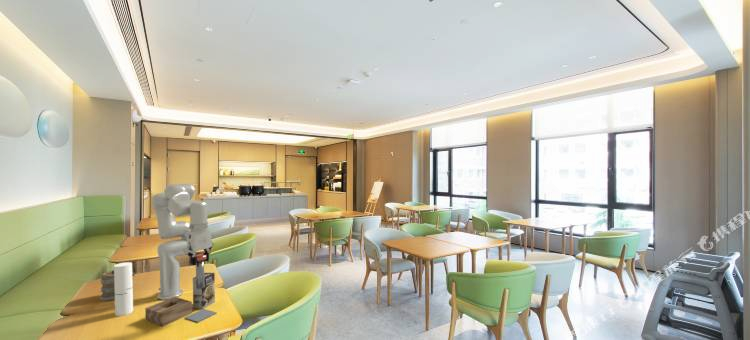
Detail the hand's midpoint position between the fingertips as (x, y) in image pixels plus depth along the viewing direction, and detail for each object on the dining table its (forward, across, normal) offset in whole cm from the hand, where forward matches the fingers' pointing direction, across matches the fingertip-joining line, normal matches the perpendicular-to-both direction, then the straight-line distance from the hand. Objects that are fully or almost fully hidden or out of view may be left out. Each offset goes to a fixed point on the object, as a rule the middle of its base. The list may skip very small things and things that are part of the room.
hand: (199, 262), depth 152 cm
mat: (+27, 0, 0) cm, 27 cm away
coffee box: (+27, +9, +10) cm, 30 cm away
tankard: (+27, -4, +66) cm, 72 cm away
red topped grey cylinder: (+13, 0, 0) cm, 13 cm away
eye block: (+27, -7, +14) cm, 31 cm away
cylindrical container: (+27, -14, +40) cm, 50 cm away
